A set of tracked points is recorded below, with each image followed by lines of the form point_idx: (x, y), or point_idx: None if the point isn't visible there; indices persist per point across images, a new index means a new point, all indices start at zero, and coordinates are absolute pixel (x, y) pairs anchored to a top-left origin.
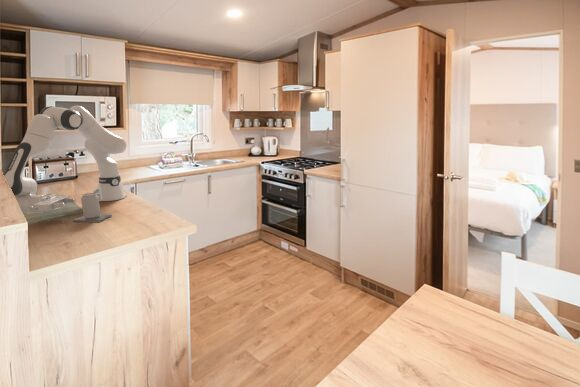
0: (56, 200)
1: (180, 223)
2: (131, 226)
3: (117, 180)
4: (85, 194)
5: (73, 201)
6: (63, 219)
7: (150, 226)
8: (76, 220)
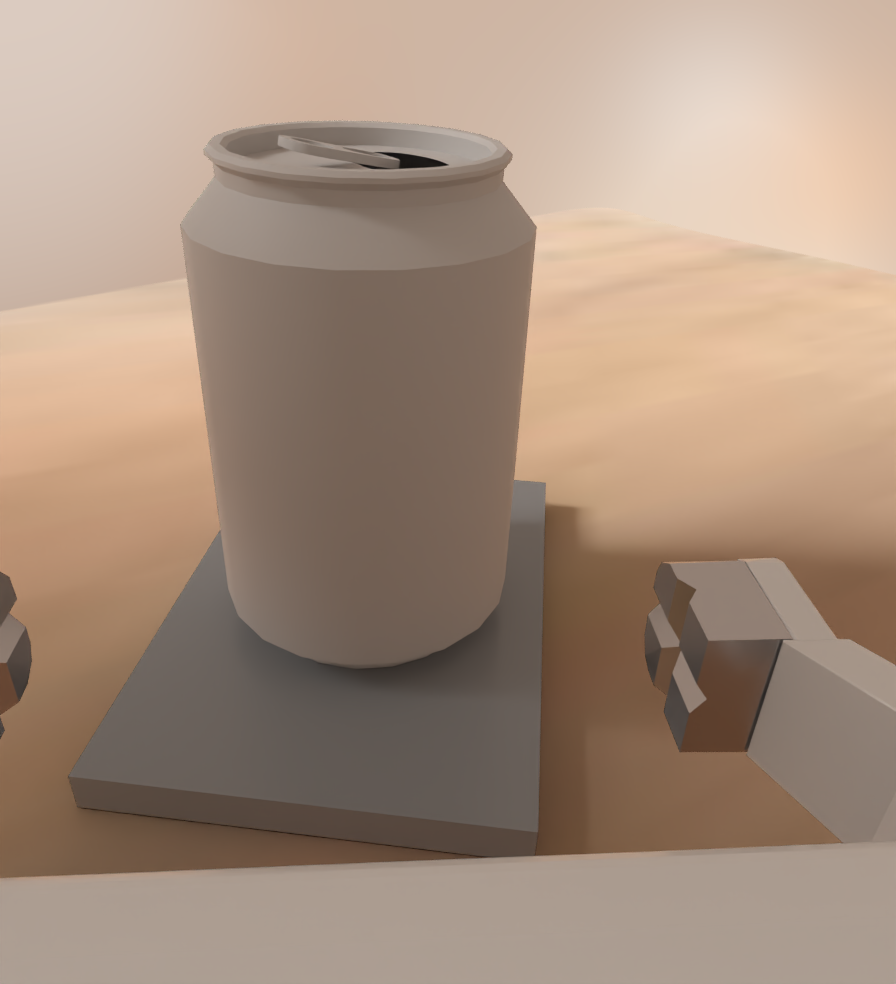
0: (587, 884)
1: (547, 224)
2: (650, 326)
3: None
4: (291, 178)
5: (14, 647)
6: None
7: (629, 277)
8: (539, 771)
